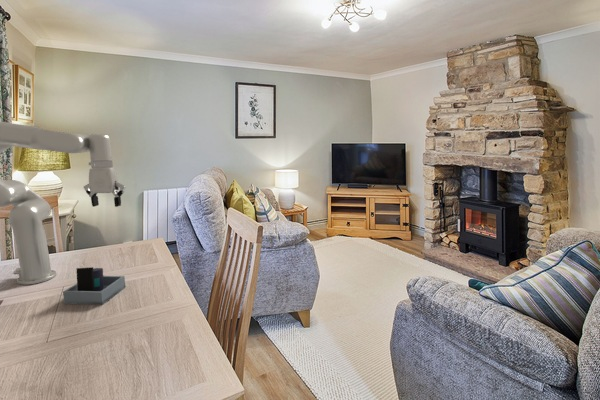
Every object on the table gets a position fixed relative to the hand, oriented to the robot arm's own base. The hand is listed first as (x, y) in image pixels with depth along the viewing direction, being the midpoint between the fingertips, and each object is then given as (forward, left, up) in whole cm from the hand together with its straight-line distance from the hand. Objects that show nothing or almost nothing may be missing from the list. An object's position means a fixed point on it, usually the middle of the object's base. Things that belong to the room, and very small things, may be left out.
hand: (106, 206), depth 138 cm
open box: (+8, -23, -28) cm, 37 cm away
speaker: (+7, -23, -28) cm, 36 cm away
